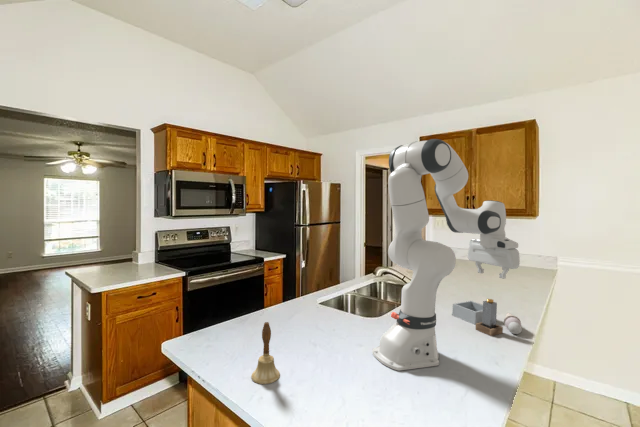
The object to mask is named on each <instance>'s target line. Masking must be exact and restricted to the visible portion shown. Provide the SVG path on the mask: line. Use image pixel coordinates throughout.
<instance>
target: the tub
mask: <svg viewBox="0 0 640 427" xmlns="http://www.w3.org/2000/svg"><path fill="white" fill-rule="evenodd" d="M451 315H452V316H453V317H456V318H458V319H461V320H462V321H466V322H468V323H470V324H472V325H475V326H476V323H480V322H482V318H483V303H482V304H481V303H479V302H476V301H473V300H468V301H461V302H457V303H456V302H455V303H452V314H451Z"/></svg>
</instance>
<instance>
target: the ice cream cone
mask: <svg viewBox="0 0 640 427" xmlns="http://www.w3.org/2000/svg"><path fill="white" fill-rule="evenodd" d="M503 325H504V326H505V327H506V329H507V330H508V331H509V332H510V333H511V334H513V335H519V334H520V333H521V332H522V323H521V320H520V318H519V317H518V316H515V315H514V314H511V313H509V312H507V313H506V315H505V317H504V320H503Z"/></svg>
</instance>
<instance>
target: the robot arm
mask: <svg viewBox="0 0 640 427" xmlns="http://www.w3.org/2000/svg"><path fill="white" fill-rule="evenodd" d="M388 166H389V171H390V174H389V175H388V178H387V179H388V183H387V184H388V196H389V202H390V207H391V210H392V212H391V213H392V215H393V216H392V217H393V220H394V228H395V229H394V237H393V240H392V241H391V242H390V244H389V246H388V250H387V254H388V259H389V260H390V261H391V262H392V263H393V264H395V265H397V266H399V267H400V268H402V269H407V270H410V271H412V276H411V279H410V282H407V283H405V284H404V285H403V287H402V288H401V300H400V301H401V305H400V309H399V311H398V313H397V312H395V311H392V312H391V314H390V316H391V318H393V319H394V320H396V321H395V322H394V323H393V324H392V326H390V327H389V328H388V329H387V330H386V331H385V332H383V334H382V335H381V336H380V339H379V340H380V341H379V346H376V347H374V348H372V352H371V353H372V355H373V357H374V358H375V359H376V360H378V361H379V362H380V363H382V365H384V366H386V367H388V368H389V369H392V370H395V371H407V370H414V369H421V368H423V369H424V368H430V367H437V366H439V365H440V361H439V357H440V356H439V354H440V353H439V351H438V347H437V335H436V326H437V313H436V301H437V300H436V299H437V291H438V289H439V286H440V283H441V282H442V281H443V279H444V278H446V277H447V276H449V275H450V274H451V273H452V272H453V271H454V269H455V268H456V267H455V266H456V263H457V259H456V258H457V257H456V254H455V252H454V249H452V248H451V247H450V246H447V245H445V244H443V243H441V242H437V241H432V240H426V239H423V236H422V232H423V229H424V228H426V226H427V225H428V223H429V221H430V215H429V210H428V205H427V201H426V196H425V191H424V187H423V185H422V182H421V181H422V177H423V176H424V175H429V174H430V176H431V178H432V179H433V181H434V183H435V185H434V193H435V196H436V199H437V201H438V204H439V205H440V208H441V210H442V212H443V214H444V217H445V219H446V224H447V226H448V229H450V231H451V232H453V233H459V234H460V233H461V234H463V233H464V234H465V233H466V234H473V235H476V234H477V235H480V236H479V239H476V238H472V239H471V240H470V241H469V244H468V245H469V246H468V251H467V259H468V260H469V261H471V262H474V264H475V266H476V268H477V273H478V274H484V271H485V269H484V268H482V264H487V265H491V266H496V267H501V269H502V272H499V278H500V279H507V273H508V272H509V271H510V270H514V269H518V268H519V267H520V264H521V262H520V260H521V259H520V257H521V256H520V252H519V250H518V248H519V242H516V241H515V240H513V239H510V238H508V237H506V230H505V227H506V225H507V212H506V205H505V203H504V202H502V201H498V200H491V199H490V200H484V201H483V202H482V205H481V206H480V207H478V208H463V207H460V206H458V204H457V201H456V199H455V196H454V195H455V194H457V193H458V192H460V191H461V190H463V188H464V187H465V186H466V185H467V183H468V180H469V172H468V168H466V165H465V164H464V162H463V161H462V159H461V157H460V156H459V155H458V153H457V152H456V151H455V149H454V148H453V147H452V146H451V145H450V144H449V143H447V142H446V141H444V140H442V139H438V138H430V139H427V140H421V141H413V142H409V143H406V144H400V145H399V146H397V147H395V148H393V149H392V150H391V151H390V154H389V156H388Z"/></svg>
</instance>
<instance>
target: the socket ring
mask: <svg viewBox="0 0 640 427" xmlns="http://www.w3.org/2000/svg"><path fill="white" fill-rule="evenodd" d="M503 330H504V326H501V325H498V324H496V328H493V329H490V328H487V327H485V326H482V322H480V323H476V325H475V331H477V332H480V333H482V334H486V335H488V336H490V337H493V336H498V335H501V334H502V335H503V333H504V332H503Z"/></svg>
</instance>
